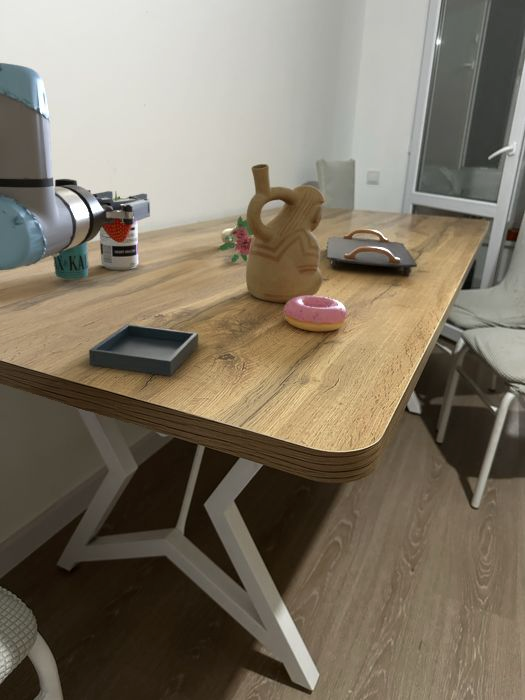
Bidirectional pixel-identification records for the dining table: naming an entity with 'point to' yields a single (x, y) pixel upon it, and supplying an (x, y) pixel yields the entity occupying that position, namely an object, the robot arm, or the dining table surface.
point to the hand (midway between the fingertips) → (127, 200)
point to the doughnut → (315, 313)
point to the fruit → (117, 227)
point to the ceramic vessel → (283, 241)
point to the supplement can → (119, 250)
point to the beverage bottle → (71, 253)
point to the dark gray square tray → (144, 349)
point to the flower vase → (237, 239)
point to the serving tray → (369, 251)
